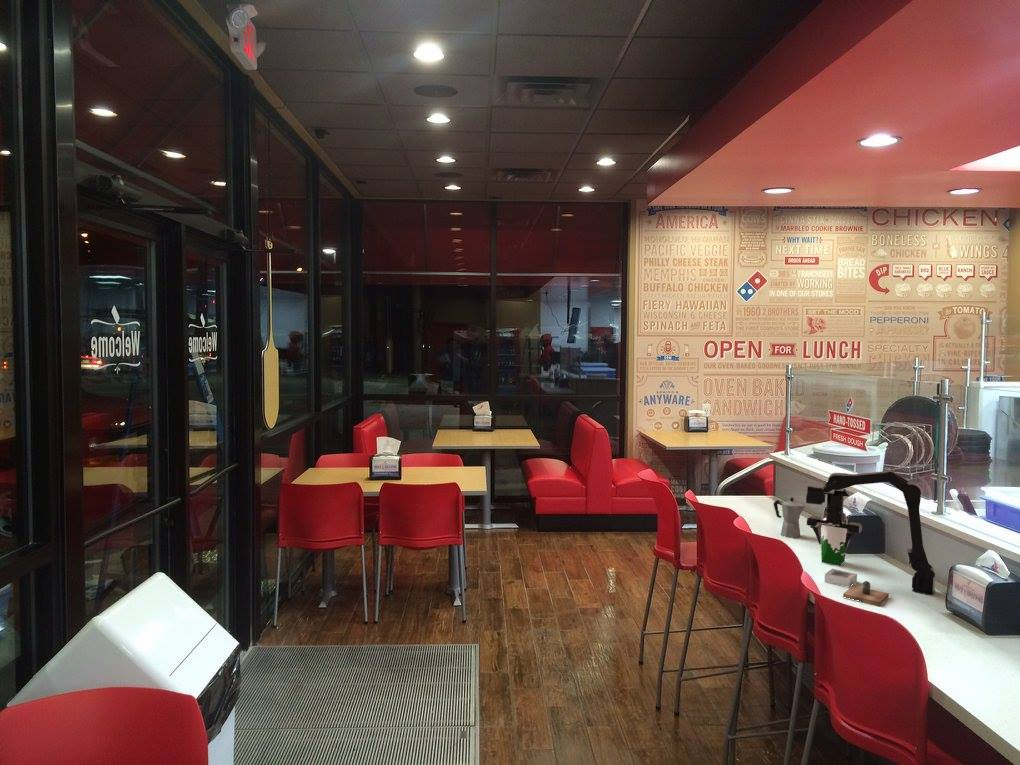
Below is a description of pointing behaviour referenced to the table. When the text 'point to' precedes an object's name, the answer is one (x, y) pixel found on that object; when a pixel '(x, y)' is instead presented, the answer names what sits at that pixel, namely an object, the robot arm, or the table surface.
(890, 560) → the table surface
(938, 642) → the table surface
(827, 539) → the milk carton
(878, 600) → the board
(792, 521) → the coffeepot
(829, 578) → the white square frame
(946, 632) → the table surface
